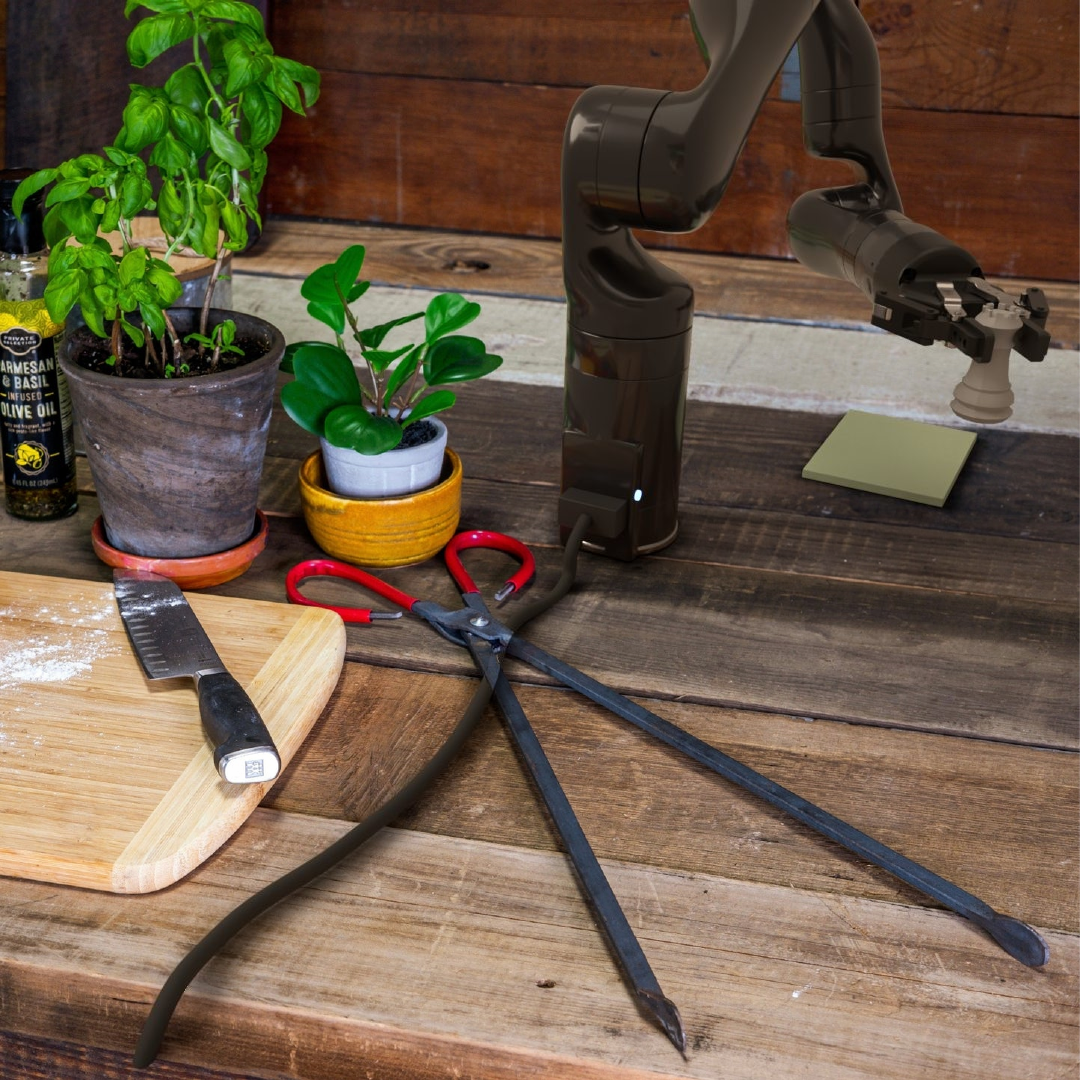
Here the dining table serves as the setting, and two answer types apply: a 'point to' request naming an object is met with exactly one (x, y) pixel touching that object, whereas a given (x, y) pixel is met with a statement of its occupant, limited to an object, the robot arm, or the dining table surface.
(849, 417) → the mat
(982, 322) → the rook chess piece
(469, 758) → the dining table surface
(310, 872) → the robot arm
